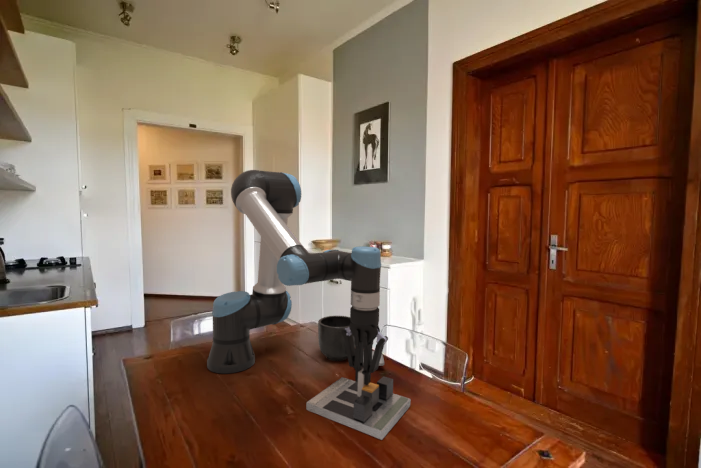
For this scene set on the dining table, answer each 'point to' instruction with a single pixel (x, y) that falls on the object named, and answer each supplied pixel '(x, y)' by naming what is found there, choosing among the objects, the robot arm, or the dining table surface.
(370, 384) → the block
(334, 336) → the planter
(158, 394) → the dining table surface
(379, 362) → the light switch
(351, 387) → the panel
